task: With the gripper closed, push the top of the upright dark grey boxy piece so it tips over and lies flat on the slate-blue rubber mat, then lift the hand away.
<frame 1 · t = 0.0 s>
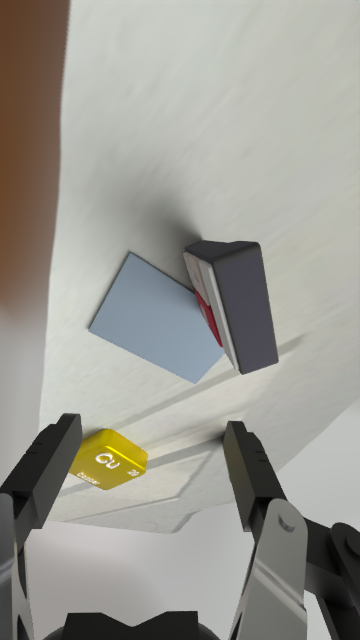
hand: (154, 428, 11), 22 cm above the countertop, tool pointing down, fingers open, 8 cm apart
element tile: (109, 450, 51), on the countertop
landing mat: (168, 328, 34), on the countertop
dark grey boxy piece: (204, 280, 30), on the countertop, touching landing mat
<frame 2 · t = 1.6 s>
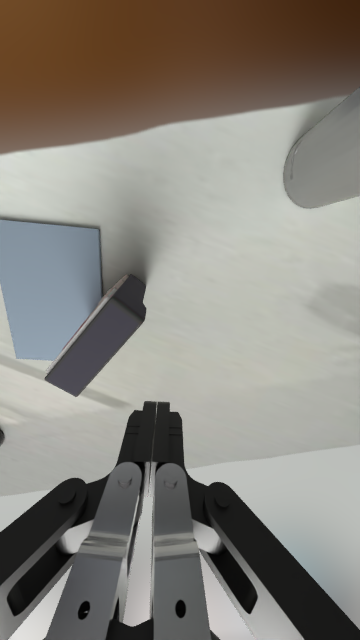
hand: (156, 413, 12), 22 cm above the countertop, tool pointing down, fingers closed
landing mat: (55, 299, 32), on the countertop
dark grey boxy piece: (117, 304, 32), on the countertop, touching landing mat
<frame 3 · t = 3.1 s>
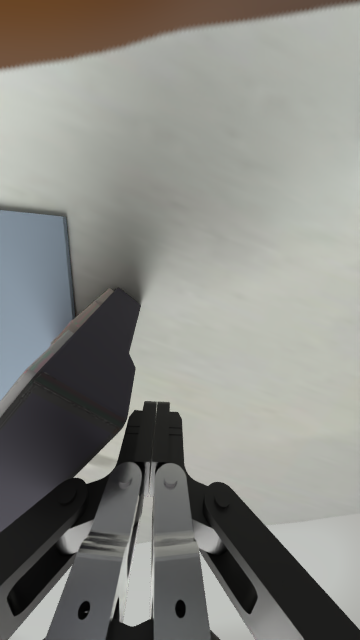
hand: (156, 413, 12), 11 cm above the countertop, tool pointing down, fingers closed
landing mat: (4, 324, 21), on the countertop
dark grey boxy piece: (98, 331, 22), on the countertop, touching gripper, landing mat
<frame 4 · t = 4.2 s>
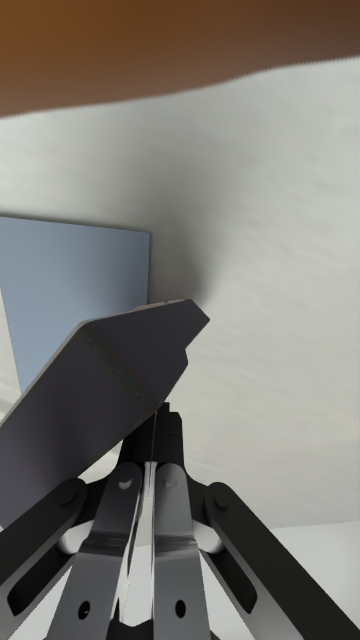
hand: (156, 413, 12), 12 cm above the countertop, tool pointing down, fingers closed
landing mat: (80, 329, 23), on the countertop
dark grey boxy piece: (165, 342, 22), point 1 cm above the countertop, touching gripper, hand, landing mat
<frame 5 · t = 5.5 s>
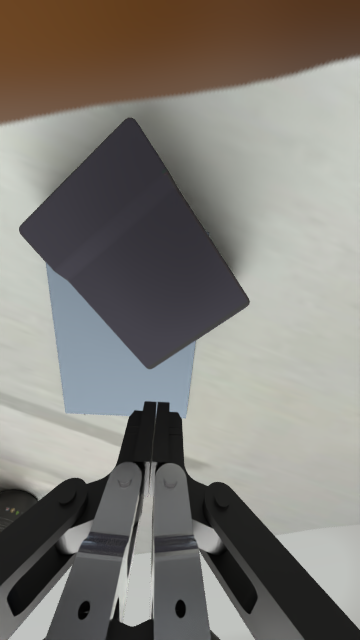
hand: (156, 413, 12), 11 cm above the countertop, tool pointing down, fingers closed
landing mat: (127, 333, 22), on the countertop
dark grey boxy piece: (197, 335, 19), point 3 cm above the countertop, touching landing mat
supplement bottle: (18, 501, 31), on the countertop
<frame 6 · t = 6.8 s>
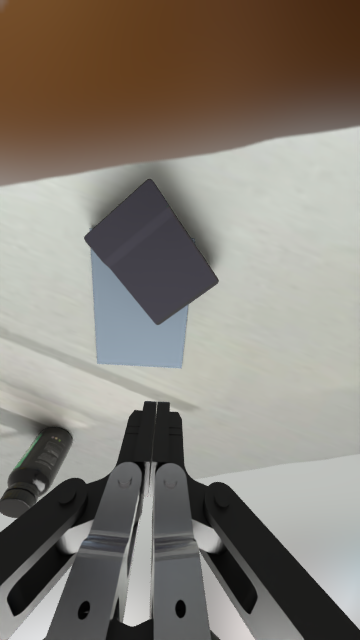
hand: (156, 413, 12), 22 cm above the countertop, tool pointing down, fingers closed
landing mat: (142, 306, 33), on the countertop
dark grey boxy piece: (188, 303, 30), point 3 cm above the countertop, touching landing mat
supplement bottle: (57, 437, 42), on the countertop
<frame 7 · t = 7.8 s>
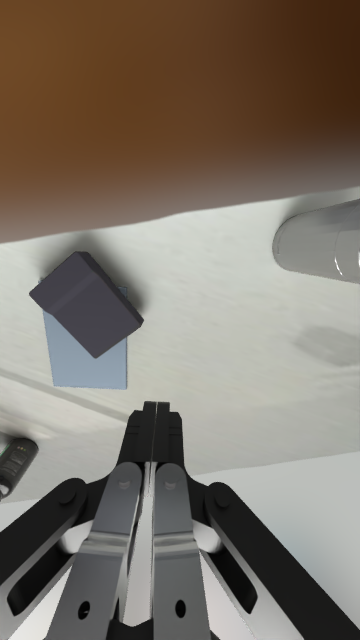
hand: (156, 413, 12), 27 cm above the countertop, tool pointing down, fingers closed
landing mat: (88, 339, 39), on the countertop
dark grey boxy piece: (121, 340, 36), point 3 cm above the countertop, touching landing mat
supplement bottle: (24, 446, 48), on the countertop
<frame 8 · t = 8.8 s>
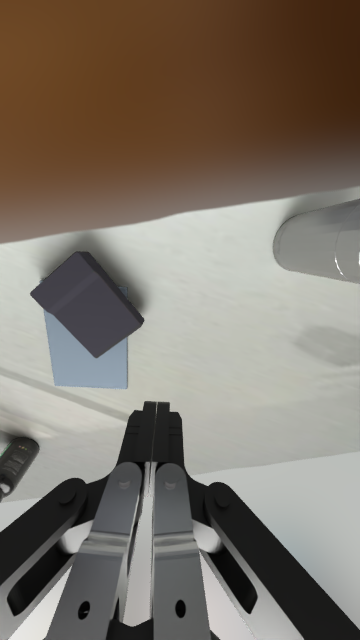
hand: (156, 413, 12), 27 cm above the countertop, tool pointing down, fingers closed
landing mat: (88, 339, 39), on the countertop
dark grey boxy piece: (121, 340, 36), point 3 cm above the countertop, touching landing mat
supplement bottle: (26, 446, 49), on the countertop
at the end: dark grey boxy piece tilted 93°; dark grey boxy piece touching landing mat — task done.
